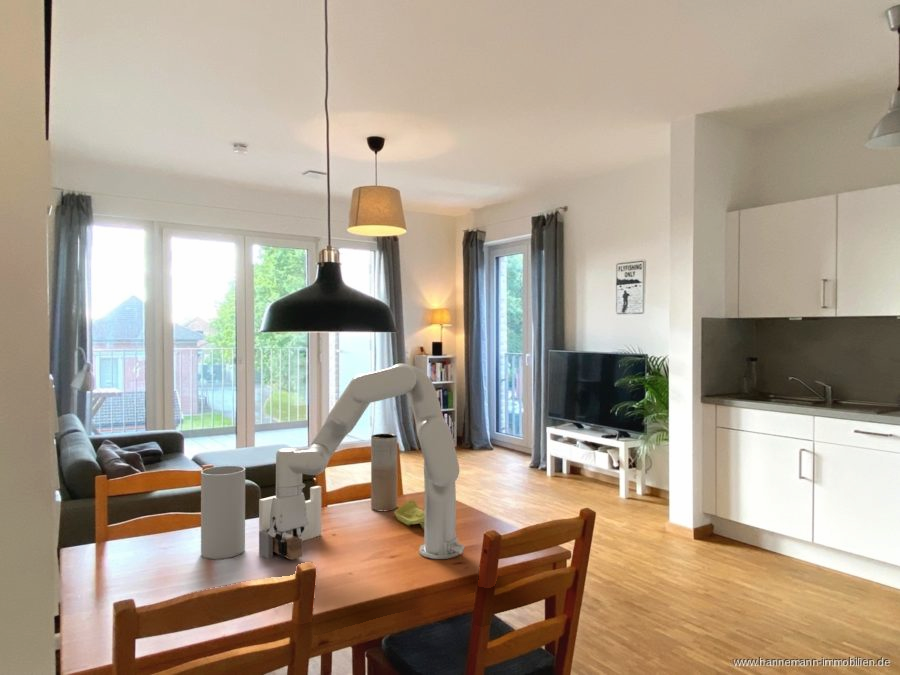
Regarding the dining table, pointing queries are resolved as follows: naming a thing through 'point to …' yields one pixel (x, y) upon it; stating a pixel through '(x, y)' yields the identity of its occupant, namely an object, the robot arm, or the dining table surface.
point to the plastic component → (410, 514)
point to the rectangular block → (290, 546)
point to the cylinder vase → (222, 512)
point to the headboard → (309, 532)
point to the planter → (384, 471)
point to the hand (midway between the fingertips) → (288, 551)
